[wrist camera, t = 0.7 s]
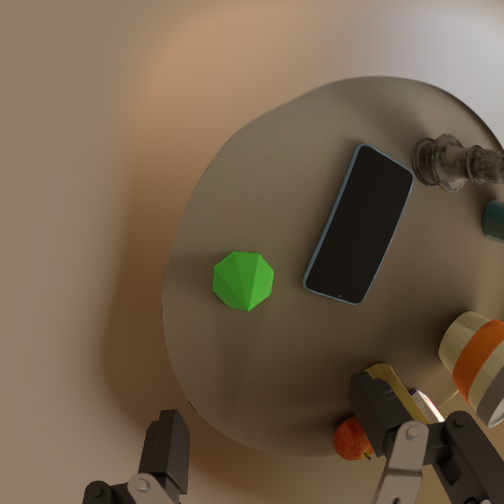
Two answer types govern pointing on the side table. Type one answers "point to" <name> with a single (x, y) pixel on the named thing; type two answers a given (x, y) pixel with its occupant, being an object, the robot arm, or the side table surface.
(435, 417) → the supplement box
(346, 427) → the fruit
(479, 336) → the reusable coffee cup
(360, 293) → the smartphone
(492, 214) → the teal cup
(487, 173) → the chess piece
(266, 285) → the gemstone
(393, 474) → the robot arm
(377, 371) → the vase
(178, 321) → the side table surface
